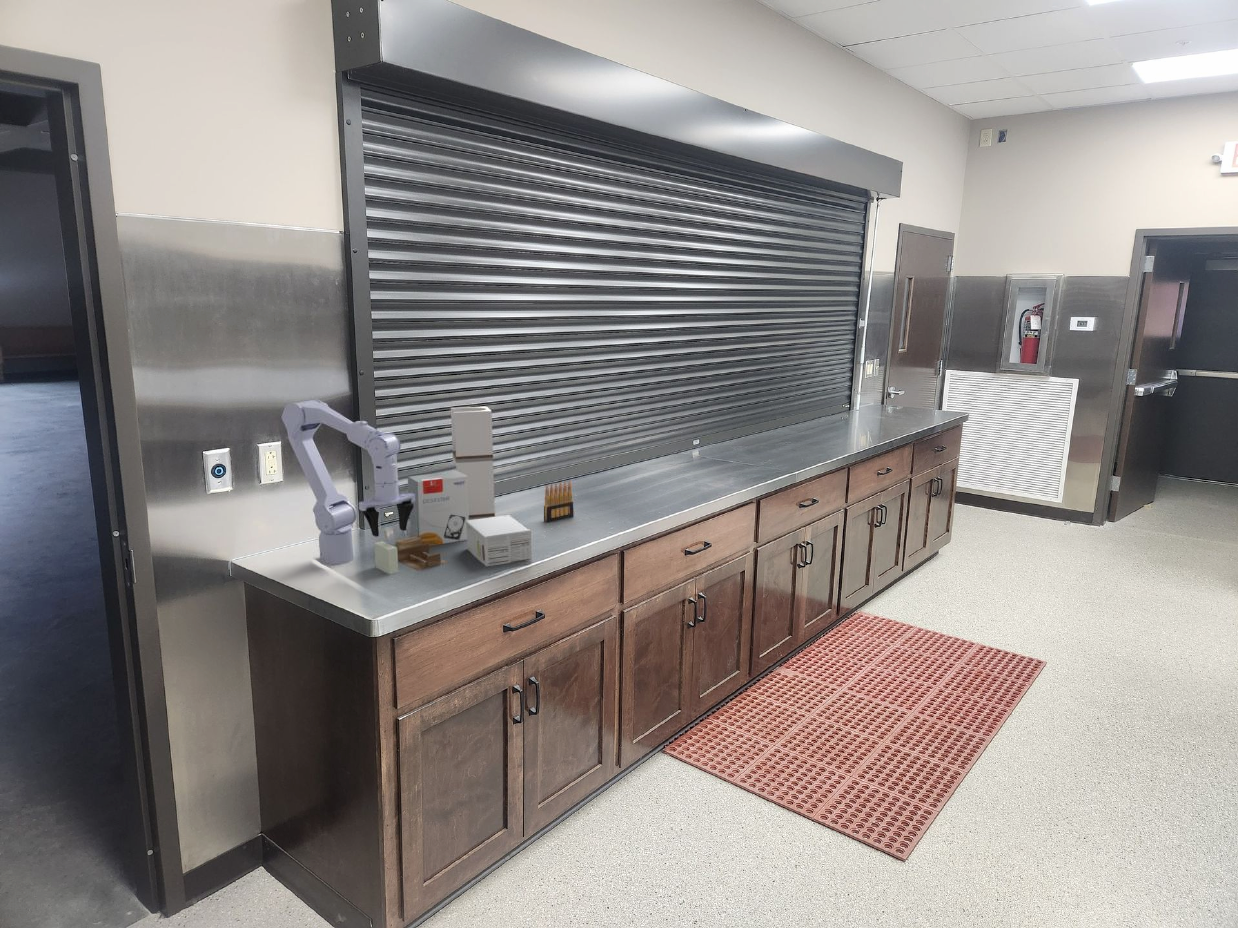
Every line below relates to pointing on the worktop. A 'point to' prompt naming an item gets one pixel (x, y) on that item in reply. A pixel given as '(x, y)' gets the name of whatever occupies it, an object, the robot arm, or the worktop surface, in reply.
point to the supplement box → (498, 540)
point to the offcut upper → (408, 542)
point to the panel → (386, 557)
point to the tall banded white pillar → (475, 457)
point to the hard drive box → (439, 507)
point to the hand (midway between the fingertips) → (389, 532)
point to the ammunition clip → (558, 503)
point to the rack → (419, 557)
